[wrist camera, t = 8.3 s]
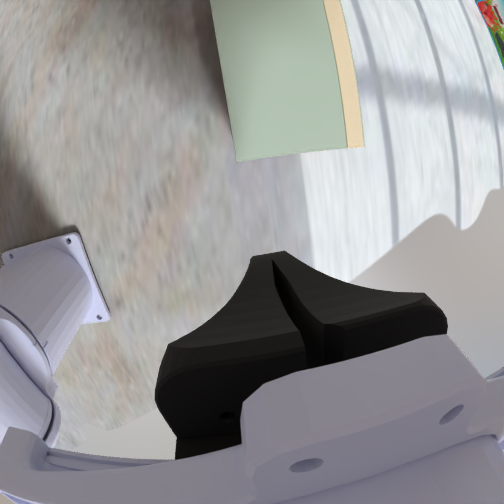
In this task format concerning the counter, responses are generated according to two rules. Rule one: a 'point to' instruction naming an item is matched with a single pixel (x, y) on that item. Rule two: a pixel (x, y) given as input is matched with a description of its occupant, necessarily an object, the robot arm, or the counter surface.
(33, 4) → the counter surface
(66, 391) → the counter surface
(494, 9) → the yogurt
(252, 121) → the lid
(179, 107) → the counter surface
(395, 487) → the robot arm
